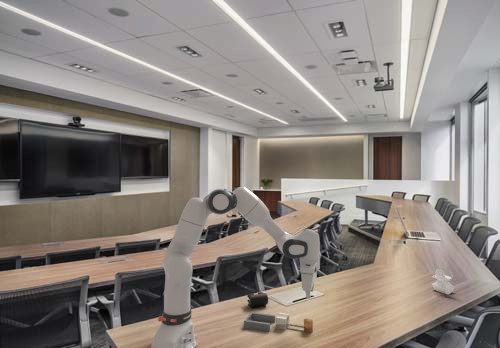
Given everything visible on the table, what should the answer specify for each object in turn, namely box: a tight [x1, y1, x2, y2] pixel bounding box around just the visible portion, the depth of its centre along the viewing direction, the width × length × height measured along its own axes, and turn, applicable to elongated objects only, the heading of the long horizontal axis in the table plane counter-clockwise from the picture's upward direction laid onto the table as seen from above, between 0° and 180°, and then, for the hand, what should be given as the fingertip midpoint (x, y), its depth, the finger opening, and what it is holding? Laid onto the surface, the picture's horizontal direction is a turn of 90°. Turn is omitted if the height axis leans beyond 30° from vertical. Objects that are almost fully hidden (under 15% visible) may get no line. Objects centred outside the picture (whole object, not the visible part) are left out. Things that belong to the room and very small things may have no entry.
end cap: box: [246, 291, 269, 309], centre depth 183 cm, size 10×7×7 cm
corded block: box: [275, 312, 314, 334], centre depth 156 cm, size 6×17×5 cm, turn 66°
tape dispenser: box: [431, 268, 456, 295], centre depth 204 cm, size 8×14×14 cm, turn 21°
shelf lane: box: [243, 311, 276, 332], centre depth 160 cm, size 11×12×3 cm
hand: (309, 294), depth 153 cm, fingers open, 8 cm apart
